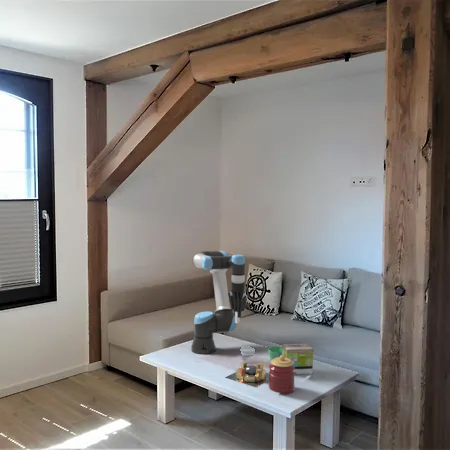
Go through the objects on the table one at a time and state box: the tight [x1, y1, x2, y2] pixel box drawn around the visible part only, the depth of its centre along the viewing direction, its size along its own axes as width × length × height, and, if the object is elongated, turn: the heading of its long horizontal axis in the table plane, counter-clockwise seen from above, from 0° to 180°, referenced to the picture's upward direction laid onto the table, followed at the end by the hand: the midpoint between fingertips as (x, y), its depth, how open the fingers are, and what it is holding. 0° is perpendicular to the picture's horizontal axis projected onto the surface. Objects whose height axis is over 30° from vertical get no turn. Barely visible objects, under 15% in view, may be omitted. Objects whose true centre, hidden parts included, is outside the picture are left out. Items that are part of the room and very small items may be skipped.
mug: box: [268, 345, 282, 361], centre depth 279 cm, size 15×10×10 cm
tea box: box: [281, 343, 314, 376], centre depth 268 cm, size 15×10×15 cm, turn 99°
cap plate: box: [224, 364, 269, 388], centre depth 259 cm, size 20×20×6 cm
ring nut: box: [235, 361, 267, 382], centre depth 259 cm, size 16×16×5 cm
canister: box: [268, 355, 296, 395], centre depth 245 cm, size 13×13×18 cm
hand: (237, 322), depth 278 cm, fingers closed
